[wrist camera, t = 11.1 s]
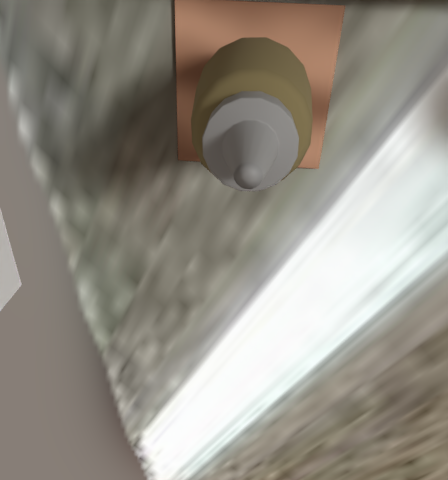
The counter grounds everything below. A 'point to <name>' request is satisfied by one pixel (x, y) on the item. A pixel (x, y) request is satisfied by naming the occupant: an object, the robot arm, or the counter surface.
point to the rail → (256, 25)
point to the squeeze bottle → (252, 114)
